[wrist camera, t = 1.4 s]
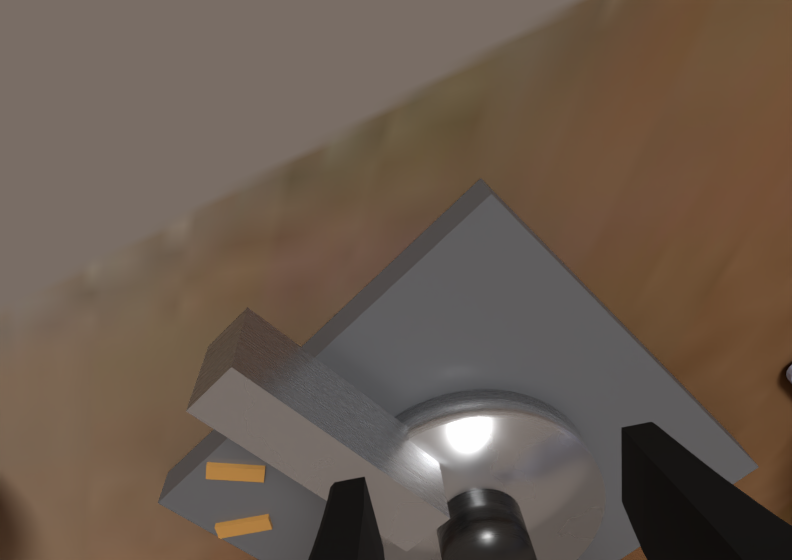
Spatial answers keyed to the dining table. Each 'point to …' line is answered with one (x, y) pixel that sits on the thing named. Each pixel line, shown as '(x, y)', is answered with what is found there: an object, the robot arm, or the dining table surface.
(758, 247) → the dining table surface
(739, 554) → the robot arm
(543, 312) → the dial plate
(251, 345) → the dial
